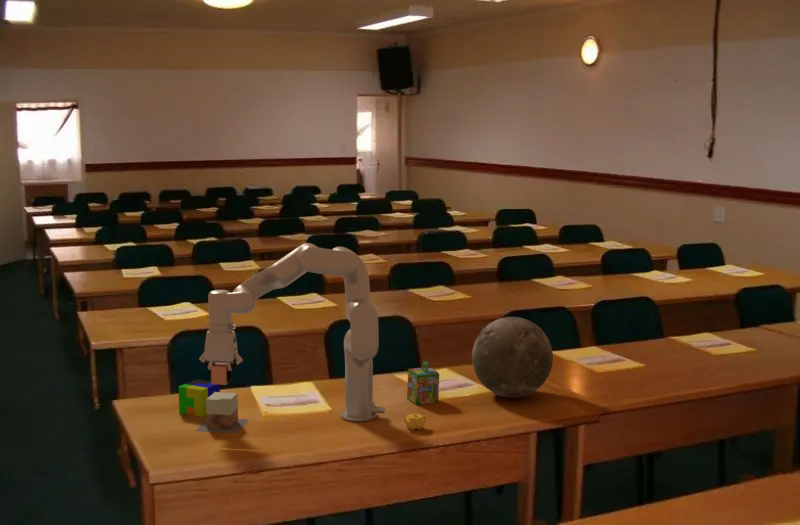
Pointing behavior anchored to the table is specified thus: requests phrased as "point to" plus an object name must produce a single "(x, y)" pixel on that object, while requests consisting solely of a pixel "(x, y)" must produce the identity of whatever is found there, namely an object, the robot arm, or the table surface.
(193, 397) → the puzzle toy
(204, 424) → the mat
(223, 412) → the tower top
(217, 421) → the tower base
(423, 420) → the teapot
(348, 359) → the robot arm
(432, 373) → the chalk box
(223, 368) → the terracotta block
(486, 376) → the globe
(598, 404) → the table surface
